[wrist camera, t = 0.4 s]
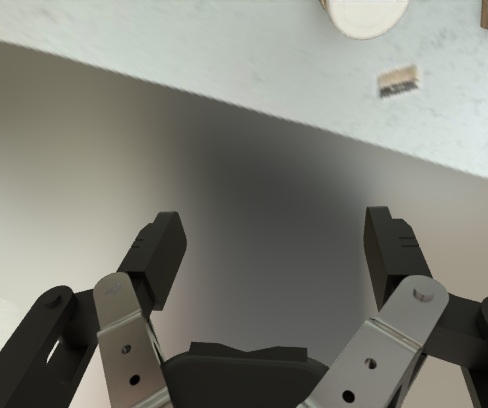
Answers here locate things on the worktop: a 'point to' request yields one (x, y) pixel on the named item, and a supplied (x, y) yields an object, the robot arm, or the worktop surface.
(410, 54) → the worktop surface
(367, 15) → the sprinkles bottle
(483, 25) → the walnut block
